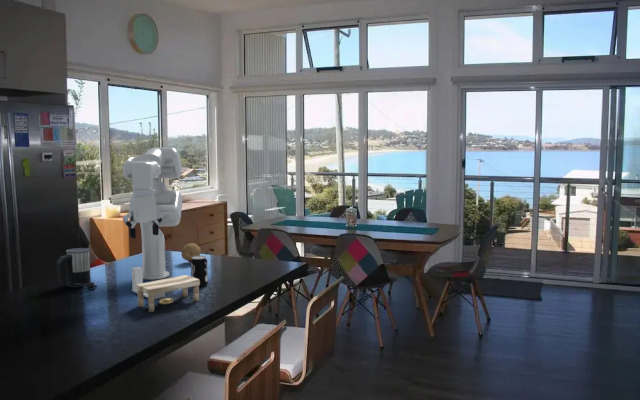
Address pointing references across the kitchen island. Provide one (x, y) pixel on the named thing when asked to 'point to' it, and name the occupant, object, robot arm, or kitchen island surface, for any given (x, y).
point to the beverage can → (199, 269)
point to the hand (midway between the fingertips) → (144, 236)
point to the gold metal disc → (166, 301)
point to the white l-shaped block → (141, 281)
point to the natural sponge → (190, 251)
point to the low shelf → (166, 288)
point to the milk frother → (75, 268)
